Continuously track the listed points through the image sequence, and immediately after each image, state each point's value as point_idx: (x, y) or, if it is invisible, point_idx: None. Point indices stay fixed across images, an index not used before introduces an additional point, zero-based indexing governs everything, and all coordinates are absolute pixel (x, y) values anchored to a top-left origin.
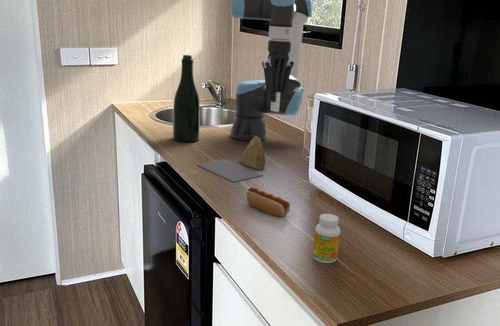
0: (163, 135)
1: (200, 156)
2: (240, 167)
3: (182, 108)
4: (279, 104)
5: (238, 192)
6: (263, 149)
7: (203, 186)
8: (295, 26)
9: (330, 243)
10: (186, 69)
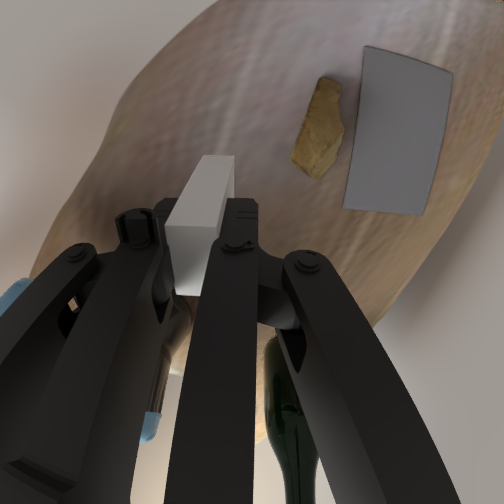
0: None
1: (365, 257)
2: (369, 128)
3: None
4: (193, 173)
5: (476, 36)
6: (309, 108)
7: (497, 112)
8: None
9: None
10: (312, 493)
